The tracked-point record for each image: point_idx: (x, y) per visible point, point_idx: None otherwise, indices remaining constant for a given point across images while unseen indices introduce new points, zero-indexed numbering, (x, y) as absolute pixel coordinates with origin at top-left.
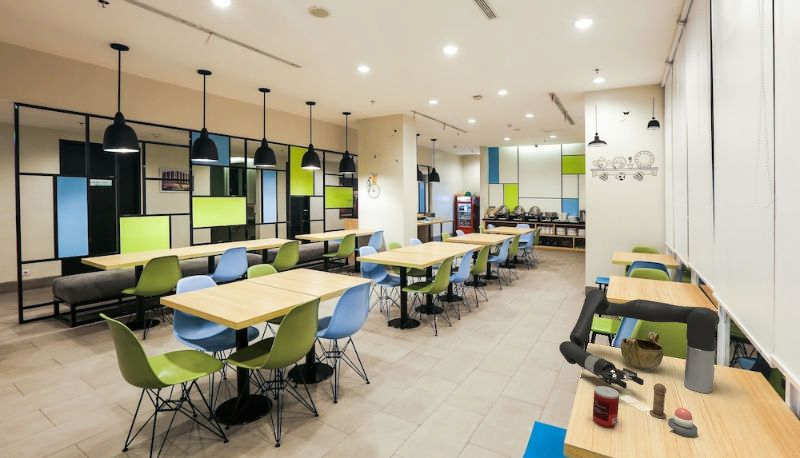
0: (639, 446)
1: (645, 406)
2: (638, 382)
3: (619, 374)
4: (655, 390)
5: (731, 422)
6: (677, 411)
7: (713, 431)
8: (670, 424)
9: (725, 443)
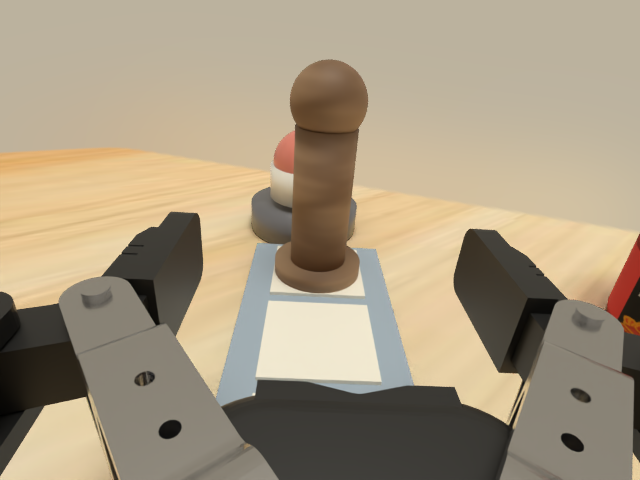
0: (557, 228)
1: (286, 335)
2: (190, 285)
3: (375, 401)
4: (366, 110)
5: (33, 201)
6: None
7: (191, 201)
8: (354, 212)
9: (242, 181)
